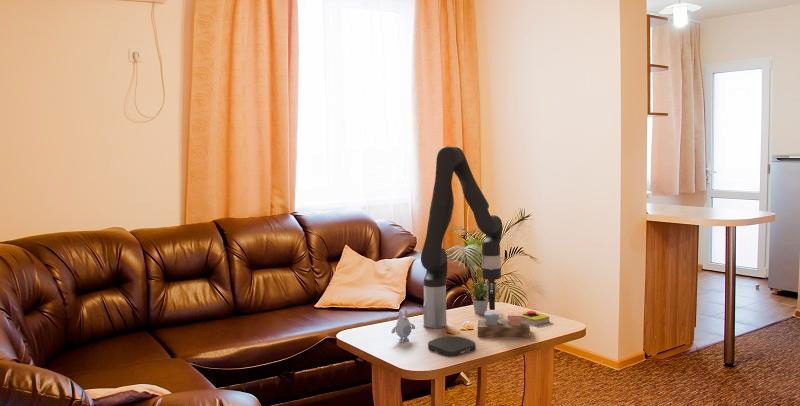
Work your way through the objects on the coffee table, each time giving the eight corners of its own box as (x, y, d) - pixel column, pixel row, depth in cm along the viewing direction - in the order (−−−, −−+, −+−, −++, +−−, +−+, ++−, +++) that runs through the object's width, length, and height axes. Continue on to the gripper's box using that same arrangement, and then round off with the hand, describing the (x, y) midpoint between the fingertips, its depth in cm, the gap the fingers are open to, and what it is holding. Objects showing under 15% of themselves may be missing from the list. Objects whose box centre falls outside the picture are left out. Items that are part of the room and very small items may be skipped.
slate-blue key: (484, 325, 230) (484, 315, 230) (484, 321, 236) (484, 311, 235) (499, 326, 229) (498, 315, 229) (499, 322, 235) (498, 311, 234)
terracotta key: (507, 326, 229) (507, 315, 228) (507, 322, 234) (507, 311, 234) (522, 326, 228) (522, 315, 227) (521, 322, 233) (521, 312, 233)
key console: (477, 336, 229) (477, 326, 228) (478, 329, 238) (478, 319, 238) (529, 338, 225) (529, 328, 225) (528, 330, 235) (528, 320, 235)
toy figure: (396, 345, 220) (395, 314, 219) (387, 341, 225) (387, 311, 224) (419, 340, 225) (419, 310, 224) (411, 336, 231) (410, 306, 230)
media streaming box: (452, 340, 226) (452, 333, 225) (480, 349, 214) (480, 341, 214) (423, 349, 217) (423, 341, 216) (451, 359, 205) (451, 351, 205)
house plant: (500, 317, 255) (500, 280, 254) (469, 318, 255) (468, 281, 253) (494, 309, 269) (494, 274, 268) (464, 309, 269) (464, 274, 268)
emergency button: (528, 307, 256) (554, 314, 244) (528, 317, 257) (554, 324, 244) (512, 310, 251) (538, 318, 239) (512, 320, 252) (538, 328, 239)
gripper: (482, 263, 238) (482, 305, 239) (481, 269, 225) (482, 313, 226) (500, 263, 236) (501, 305, 238) (501, 269, 223) (501, 314, 225)
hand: (492, 309), depth 232 cm, fingers closed
